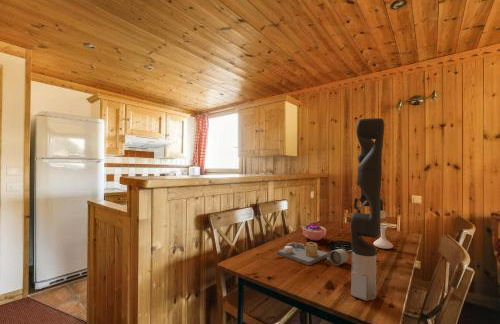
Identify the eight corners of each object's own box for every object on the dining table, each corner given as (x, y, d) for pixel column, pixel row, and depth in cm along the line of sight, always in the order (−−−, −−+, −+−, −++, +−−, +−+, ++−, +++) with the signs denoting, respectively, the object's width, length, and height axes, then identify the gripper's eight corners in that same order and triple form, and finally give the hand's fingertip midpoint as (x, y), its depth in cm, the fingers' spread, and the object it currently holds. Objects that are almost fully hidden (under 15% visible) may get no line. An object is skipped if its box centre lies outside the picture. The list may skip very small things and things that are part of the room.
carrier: (308, 265, 129) (308, 255, 130) (277, 254, 146) (277, 244, 146) (328, 256, 143) (328, 247, 143) (297, 247, 159) (298, 238, 159)
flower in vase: (397, 249, 157) (397, 210, 158) (384, 251, 153) (384, 211, 154) (379, 243, 169) (379, 207, 170) (367, 245, 165) (367, 208, 166)
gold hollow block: (313, 257, 135) (313, 246, 135) (302, 254, 140) (302, 243, 140) (320, 255, 140) (320, 243, 140) (309, 251, 145) (309, 240, 145)
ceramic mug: (349, 263, 133) (349, 249, 133) (341, 267, 127) (341, 252, 128) (331, 258, 141) (331, 244, 141) (323, 261, 135) (323, 247, 136)
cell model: (300, 242, 170) (300, 225, 170) (303, 234, 189) (303, 220, 189) (326, 244, 165) (326, 228, 165) (325, 236, 184) (326, 221, 184)
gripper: (354, 187, 133) (354, 217, 133) (383, 189, 129) (383, 219, 128) (353, 187, 140) (353, 215, 140) (381, 188, 136) (381, 217, 135)
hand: (368, 217), depth 134 cm, fingers open, 8 cm apart
